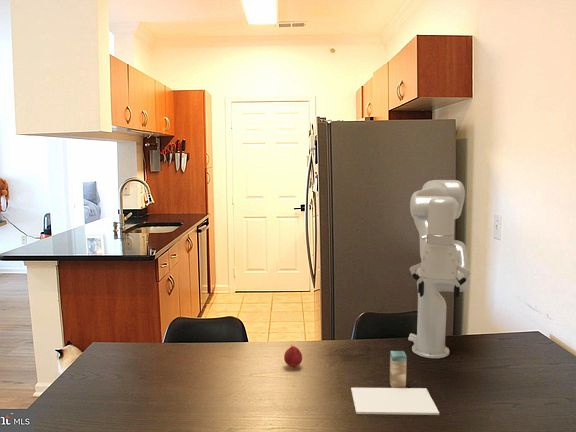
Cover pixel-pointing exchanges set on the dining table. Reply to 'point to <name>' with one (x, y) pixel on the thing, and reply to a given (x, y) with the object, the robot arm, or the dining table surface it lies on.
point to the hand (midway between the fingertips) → (438, 297)
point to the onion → (293, 356)
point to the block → (398, 369)
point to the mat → (393, 401)
